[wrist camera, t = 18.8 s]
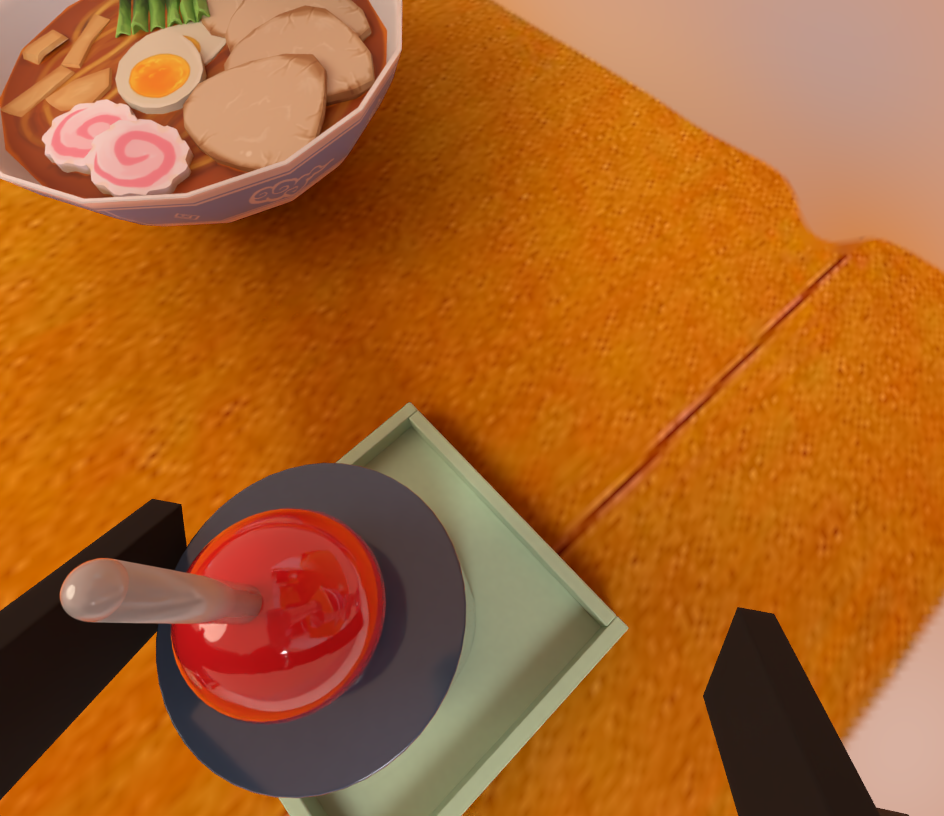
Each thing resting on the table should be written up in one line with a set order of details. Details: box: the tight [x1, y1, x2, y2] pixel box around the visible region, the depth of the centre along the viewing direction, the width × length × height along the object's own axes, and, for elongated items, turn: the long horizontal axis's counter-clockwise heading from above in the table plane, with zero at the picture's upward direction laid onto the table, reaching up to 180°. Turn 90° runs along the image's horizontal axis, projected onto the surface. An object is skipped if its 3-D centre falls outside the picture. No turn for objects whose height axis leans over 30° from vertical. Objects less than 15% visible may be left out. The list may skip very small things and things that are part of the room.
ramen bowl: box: [0, 0, 402, 226], centre depth 29 cm, size 25×23×8 cm
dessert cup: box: [60, 463, 476, 798], centre depth 13 cm, size 7×7×18 cm
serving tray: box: [278, 402, 628, 816], centre depth 21 cm, size 13×13×2 cm
